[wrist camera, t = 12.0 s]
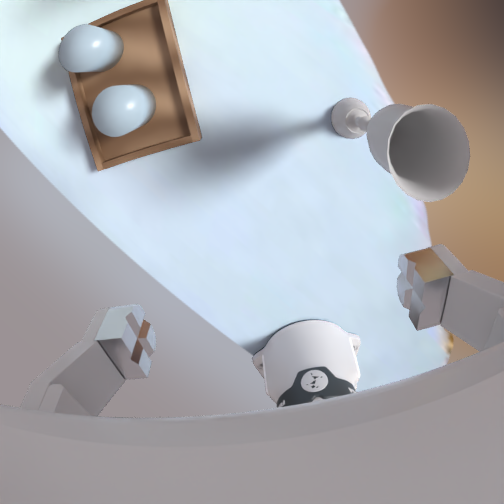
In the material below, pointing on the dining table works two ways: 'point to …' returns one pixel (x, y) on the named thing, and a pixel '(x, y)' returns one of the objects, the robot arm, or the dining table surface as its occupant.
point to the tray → (143, 73)
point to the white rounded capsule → (90, 49)
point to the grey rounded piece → (123, 109)
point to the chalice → (410, 144)
